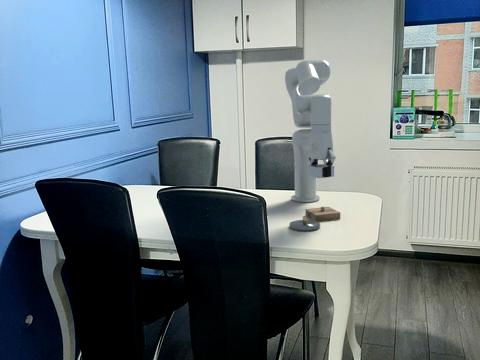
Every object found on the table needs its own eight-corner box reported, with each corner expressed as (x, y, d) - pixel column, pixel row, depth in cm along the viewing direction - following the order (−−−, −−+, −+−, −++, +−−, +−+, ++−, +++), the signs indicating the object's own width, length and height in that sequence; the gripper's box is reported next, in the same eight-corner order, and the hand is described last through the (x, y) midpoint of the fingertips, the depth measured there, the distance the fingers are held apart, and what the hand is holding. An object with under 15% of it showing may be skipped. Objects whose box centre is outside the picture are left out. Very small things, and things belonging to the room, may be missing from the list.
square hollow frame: (308, 175, 185) (308, 165, 184) (322, 173, 188) (322, 163, 187) (319, 178, 178) (319, 167, 178) (334, 176, 182) (334, 165, 181)
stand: (305, 215, 191) (305, 205, 190) (328, 212, 194) (328, 203, 193) (316, 221, 182) (316, 211, 181) (340, 218, 184) (340, 208, 184)
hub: (285, 224, 179) (284, 214, 178) (312, 221, 182) (312, 211, 181) (296, 233, 168) (296, 221, 168) (325, 229, 171) (325, 218, 171)
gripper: (299, 128, 186) (299, 173, 189) (327, 130, 171) (327, 180, 174) (315, 127, 189) (315, 171, 192) (343, 129, 174) (343, 177, 177)
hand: (321, 175), depth 183 cm, fingers closed on square hollow frame, 7 cm apart
